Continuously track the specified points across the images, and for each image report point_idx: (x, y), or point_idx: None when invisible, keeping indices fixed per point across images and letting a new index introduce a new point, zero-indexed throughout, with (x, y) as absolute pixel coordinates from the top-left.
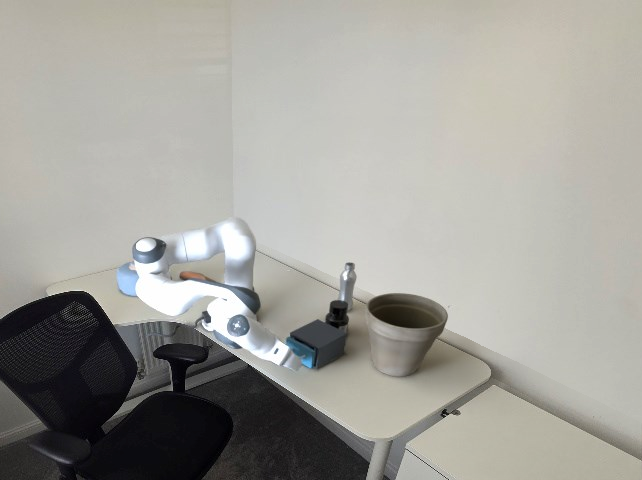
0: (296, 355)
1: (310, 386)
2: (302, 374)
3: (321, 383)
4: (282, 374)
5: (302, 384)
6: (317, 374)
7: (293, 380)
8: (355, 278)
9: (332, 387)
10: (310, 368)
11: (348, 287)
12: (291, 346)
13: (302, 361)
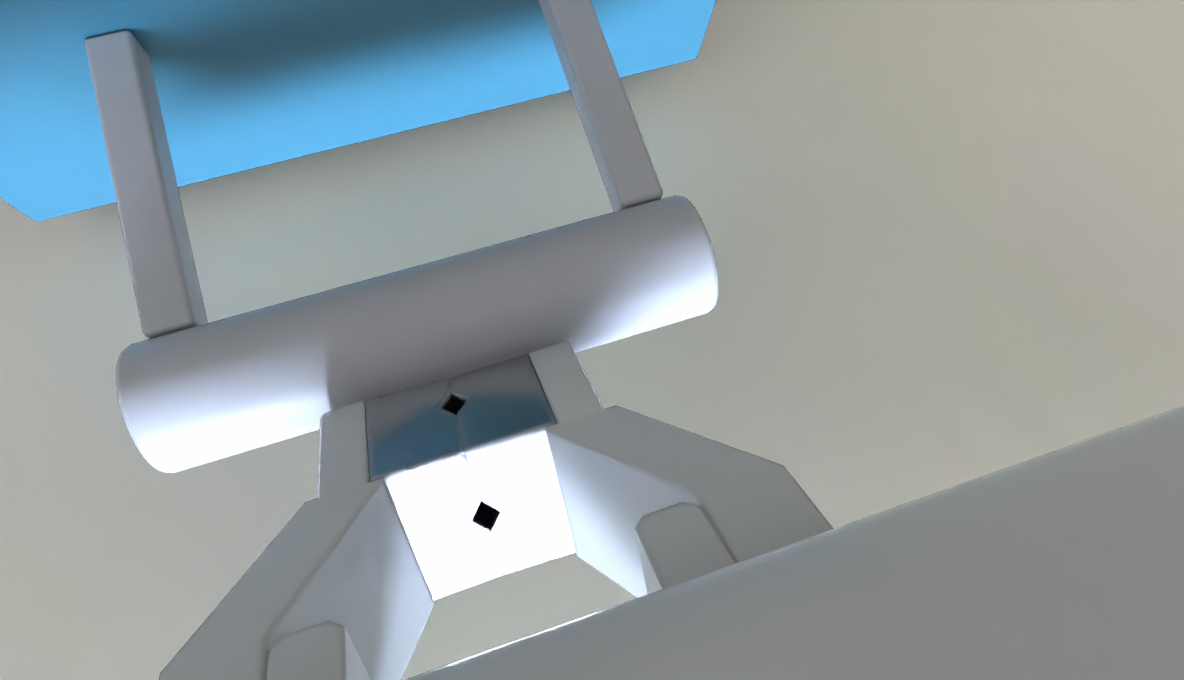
0: (312, 86)
1: (1056, 289)
2: (720, 245)
3: (1027, 107)
4: (586, 574)
5: (974, 379)
6: (801, 44)
7: (826, 468)
8: None
9: (1150, 26)
10: (686, 60)
11: None
12: (53, 25)
13: (495, 79)
